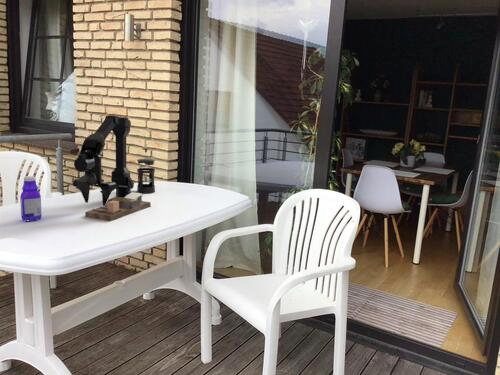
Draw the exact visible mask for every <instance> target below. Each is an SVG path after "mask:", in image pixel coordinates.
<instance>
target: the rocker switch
mask: <svg viewBox="0 0 500 375" xmlns="http://www.w3.org/2000/svg"><path fill="white" fill-rule="evenodd" d="M139 196H142V197H144V194H142V193H138V192H133V191H131V193H130V194H128V195H127V196H126V197H124V198H129V199H136V200H138V197H139Z"/></svg>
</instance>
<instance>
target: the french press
mask: <svg viewBox="0 0 500 375" xmlns="http://www.w3.org/2000/svg"><path fill="white" fill-rule="evenodd" d="M142 150H144V152H145V153H147V152H148V150H151V149H150V148H148V147H147V148H146V147H144V148H142ZM136 161H137V164H138V165H139V164H145V165H146V166H153V165H155V161H156V160H155V159H152V158H140V159H137V160H136ZM155 170H156V169H155V168H154V167H153V168H152V167H140V168H139V167H138V168H137V169H136V172H137V185H136V187H137V190H136V193H141V194H143V195H145V194H147V195H148V194H153V193H156V186H155ZM144 174H148V177H144Z"/></svg>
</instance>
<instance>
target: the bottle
mask: <svg viewBox="0 0 500 375" xmlns="http://www.w3.org/2000/svg"><path fill="white" fill-rule="evenodd" d="M36 180H37V179H36V176H31V175H30V176H24V177H23V186H22V188H21V189H22V192H21V194H20V196H19V197H20V215H21V216H20V217H21V219H22V221H24V220H35V221H37V220H36V219H39V220H41V218H42V197H41V196H42V195H41V193H40V191H39V186H38V184H37V181H36Z"/></svg>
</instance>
